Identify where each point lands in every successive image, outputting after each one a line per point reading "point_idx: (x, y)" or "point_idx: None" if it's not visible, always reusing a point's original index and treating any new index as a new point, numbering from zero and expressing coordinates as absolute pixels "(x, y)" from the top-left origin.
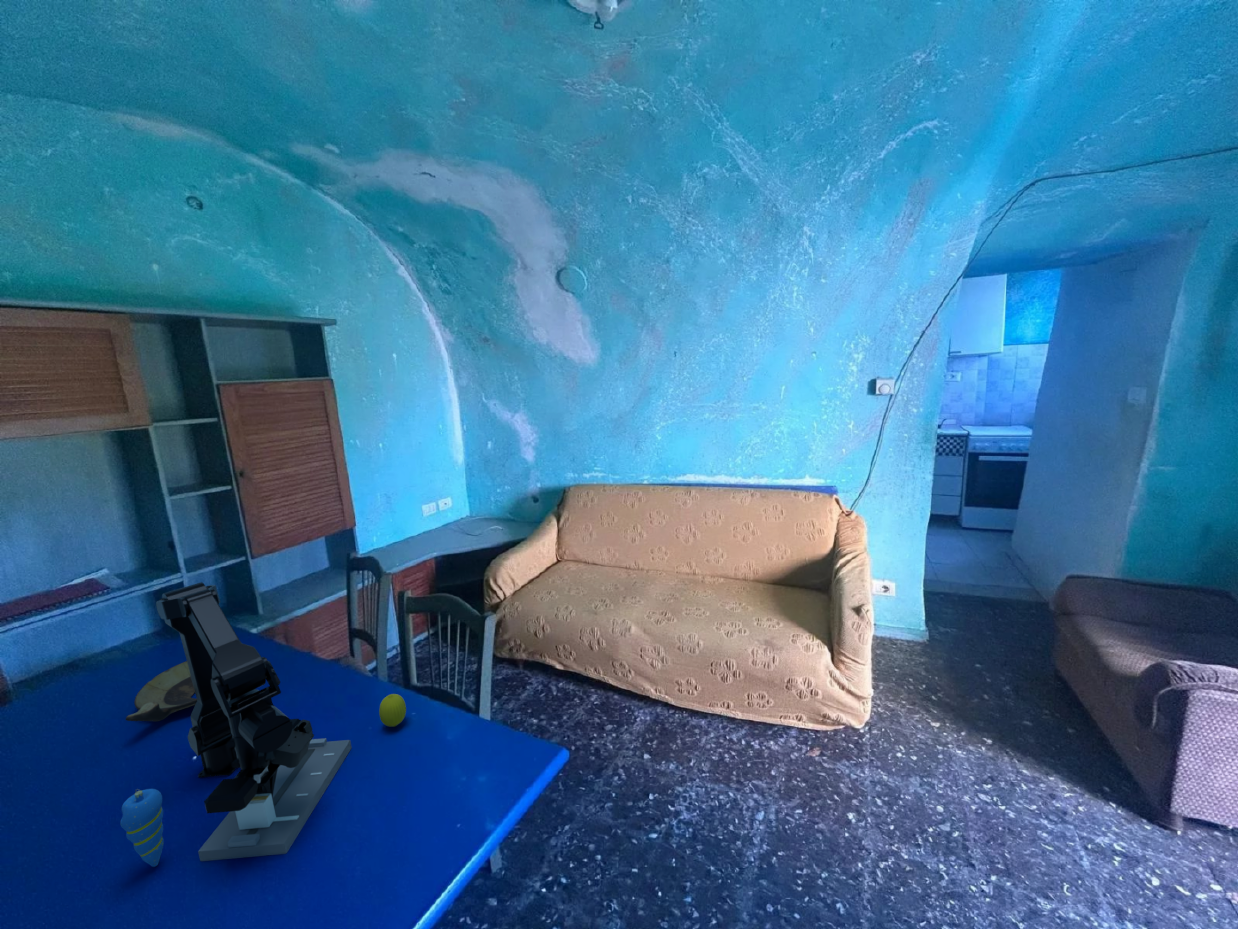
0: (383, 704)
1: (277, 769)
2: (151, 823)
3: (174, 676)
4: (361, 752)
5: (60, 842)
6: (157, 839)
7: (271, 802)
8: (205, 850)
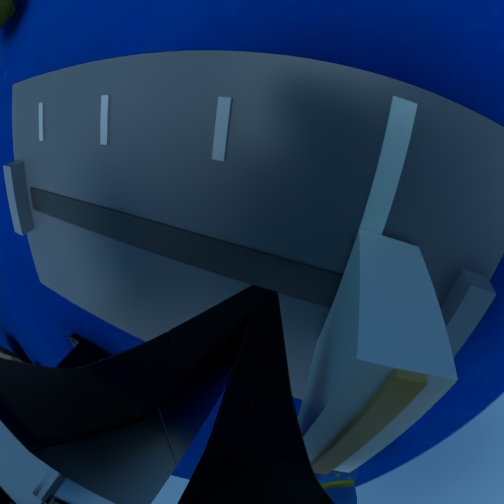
0: None
1: (94, 366)
2: None
3: None
4: (55, 35)
5: None
6: (345, 499)
7: (373, 301)
8: None
